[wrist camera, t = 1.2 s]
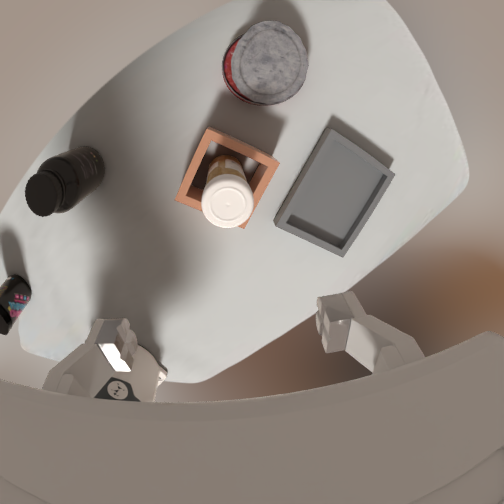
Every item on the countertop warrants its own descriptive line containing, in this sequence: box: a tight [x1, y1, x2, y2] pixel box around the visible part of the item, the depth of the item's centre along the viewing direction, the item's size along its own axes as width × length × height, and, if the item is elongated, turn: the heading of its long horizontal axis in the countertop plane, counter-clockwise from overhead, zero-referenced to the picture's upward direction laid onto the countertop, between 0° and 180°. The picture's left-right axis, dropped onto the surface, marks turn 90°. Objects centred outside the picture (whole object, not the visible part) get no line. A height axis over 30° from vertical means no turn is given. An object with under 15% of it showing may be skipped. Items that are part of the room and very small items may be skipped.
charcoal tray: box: [273, 128, 395, 257], centre depth 37 cm, size 15×12×2 cm
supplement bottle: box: [25, 146, 105, 217], centre depth 27 cm, size 7×7×12 cm
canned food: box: [222, 21, 309, 105], centre depth 26 cm, size 11×10×10 cm
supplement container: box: [0, 275, 31, 335], centre depth 35 cm, size 7×7×10 cm
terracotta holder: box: [175, 127, 280, 229], centre depth 33 cm, size 9×9×5 cm
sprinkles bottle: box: [201, 155, 254, 228], centre depth 29 cm, size 5×5×14 cm
